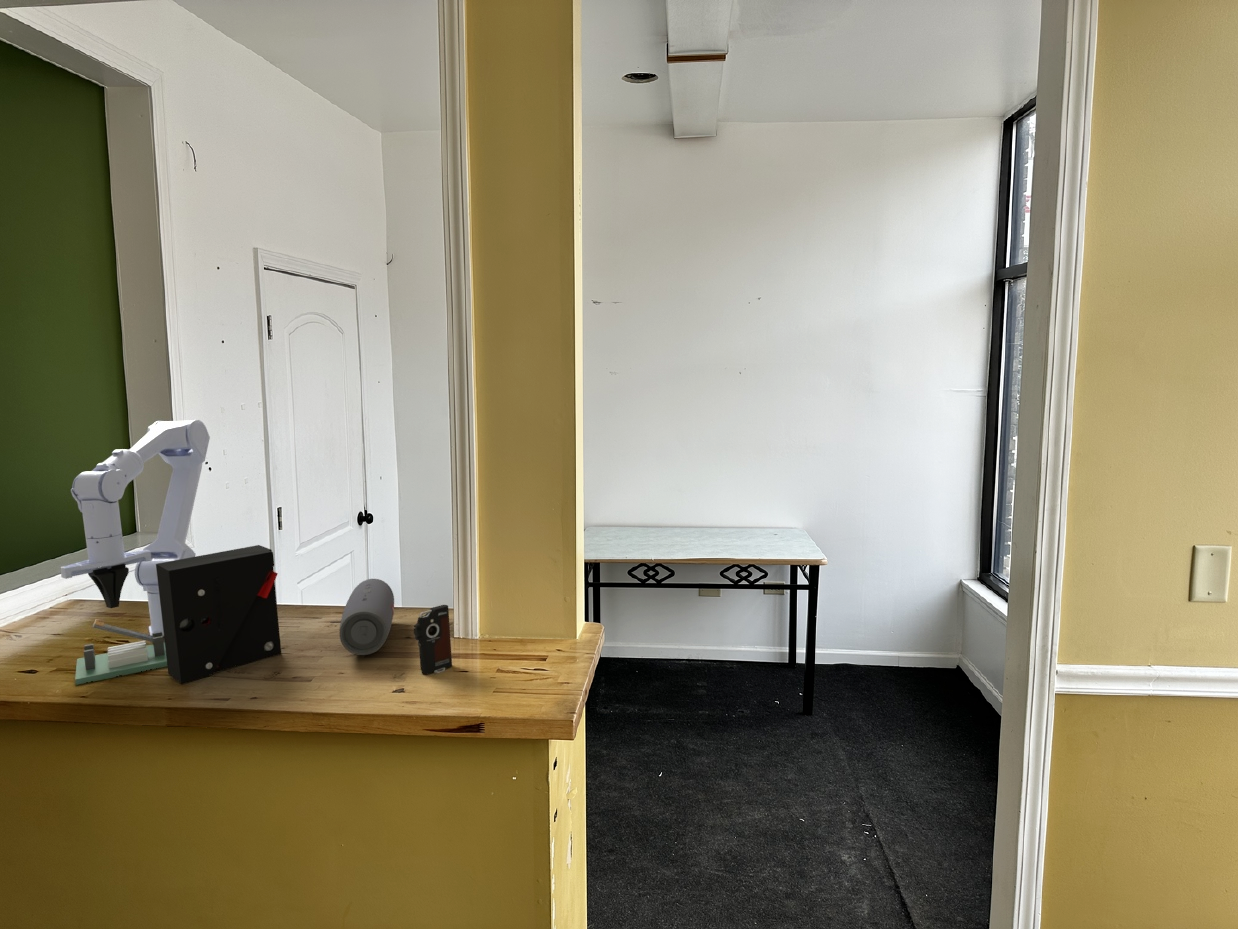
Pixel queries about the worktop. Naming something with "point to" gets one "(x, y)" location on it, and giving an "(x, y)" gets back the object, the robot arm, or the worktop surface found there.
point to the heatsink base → (121, 660)
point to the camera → (434, 640)
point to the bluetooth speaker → (367, 617)
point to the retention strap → (121, 630)
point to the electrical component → (218, 611)
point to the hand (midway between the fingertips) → (112, 606)
